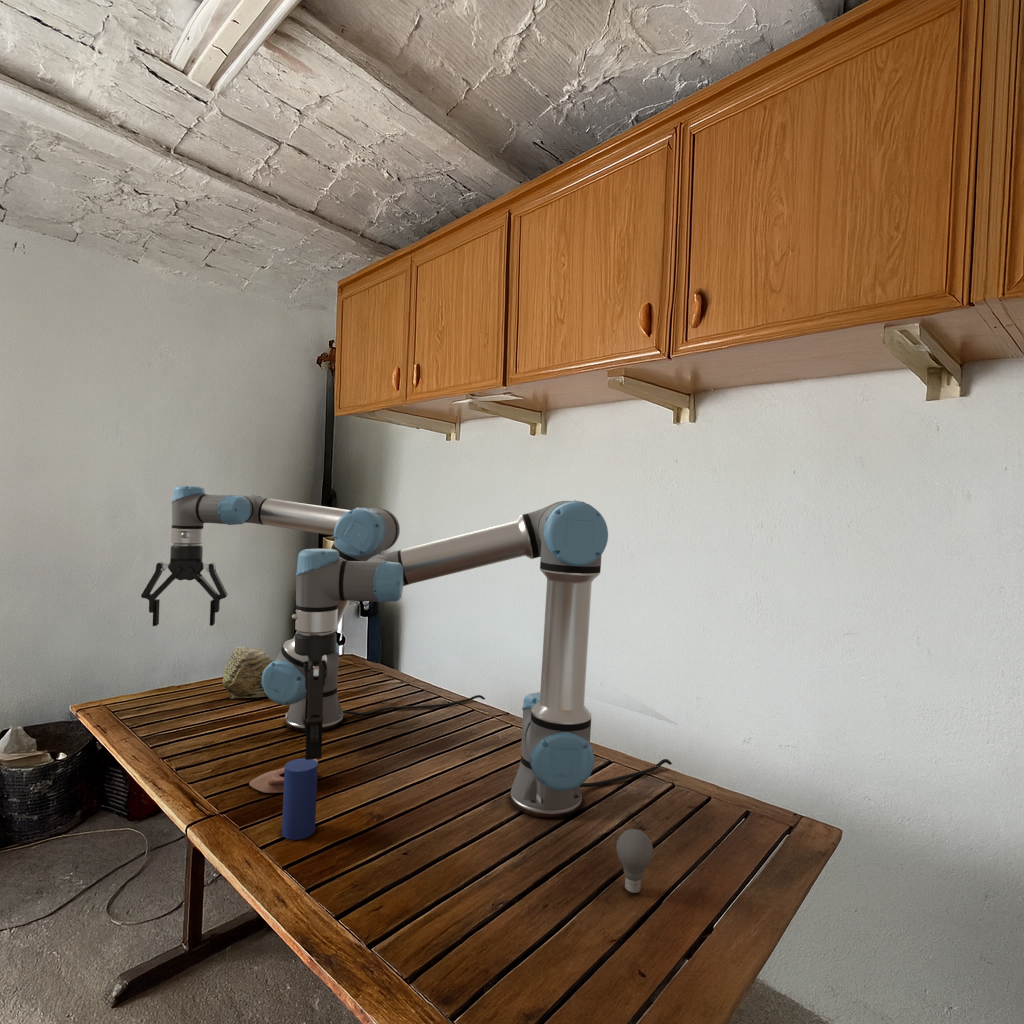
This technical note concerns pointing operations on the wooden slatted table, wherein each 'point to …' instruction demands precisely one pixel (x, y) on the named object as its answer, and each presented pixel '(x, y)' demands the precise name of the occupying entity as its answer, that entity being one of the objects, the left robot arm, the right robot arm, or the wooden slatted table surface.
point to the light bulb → (634, 857)
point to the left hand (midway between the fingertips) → (184, 625)
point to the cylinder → (299, 799)
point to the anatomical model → (270, 781)
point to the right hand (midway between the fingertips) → (312, 744)
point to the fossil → (246, 672)
